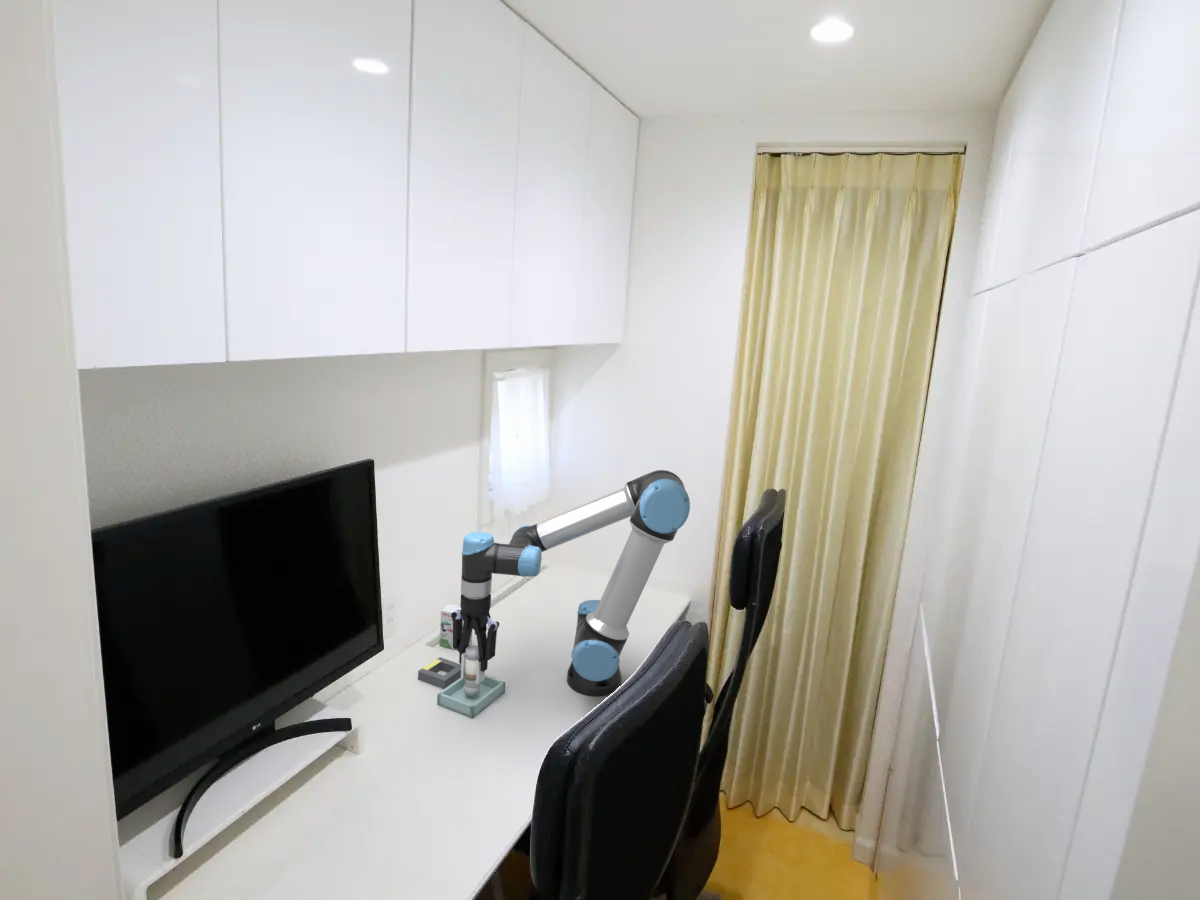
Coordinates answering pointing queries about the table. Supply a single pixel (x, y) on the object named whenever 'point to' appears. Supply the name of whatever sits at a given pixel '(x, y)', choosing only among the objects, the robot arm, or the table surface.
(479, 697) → the parts tray
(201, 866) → the table surface
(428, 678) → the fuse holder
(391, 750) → the table surface
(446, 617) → the ink box
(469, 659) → the grey-white banded cylinder
